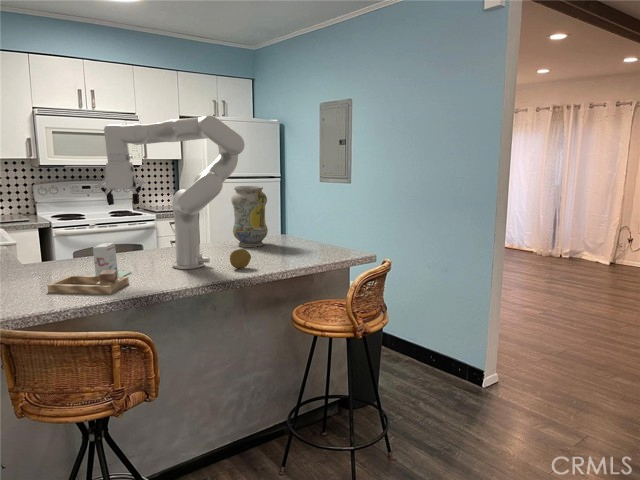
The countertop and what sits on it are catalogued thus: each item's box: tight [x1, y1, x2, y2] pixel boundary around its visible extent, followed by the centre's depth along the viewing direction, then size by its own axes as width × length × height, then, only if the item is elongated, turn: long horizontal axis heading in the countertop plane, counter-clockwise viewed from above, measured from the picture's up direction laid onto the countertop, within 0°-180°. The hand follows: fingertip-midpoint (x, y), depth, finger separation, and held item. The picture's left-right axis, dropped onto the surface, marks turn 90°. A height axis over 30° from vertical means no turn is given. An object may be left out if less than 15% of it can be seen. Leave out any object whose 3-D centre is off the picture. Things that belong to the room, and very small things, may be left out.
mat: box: [90, 270, 132, 277], centre depth 173 cm, size 12×14×1 cm
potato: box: [229, 248, 252, 269], centre depth 187 cm, size 7×8×8 cm
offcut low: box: [95, 278, 121, 286], centre depth 158 cm, size 5×7×3 cm
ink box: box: [92, 242, 119, 276], centre depth 172 cm, size 9×5×12 cm, turn 2°
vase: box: [231, 185, 269, 248], centre depth 236 cm, size 18×18×30 cm
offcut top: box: [99, 269, 118, 283], centre depth 158 cm, size 4×6×3 cm
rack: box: [47, 274, 130, 295], centre depth 158 cm, size 21×13×2 cm, turn 86°
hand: (123, 204), depth 177 cm, fingers open, 9 cm apart
